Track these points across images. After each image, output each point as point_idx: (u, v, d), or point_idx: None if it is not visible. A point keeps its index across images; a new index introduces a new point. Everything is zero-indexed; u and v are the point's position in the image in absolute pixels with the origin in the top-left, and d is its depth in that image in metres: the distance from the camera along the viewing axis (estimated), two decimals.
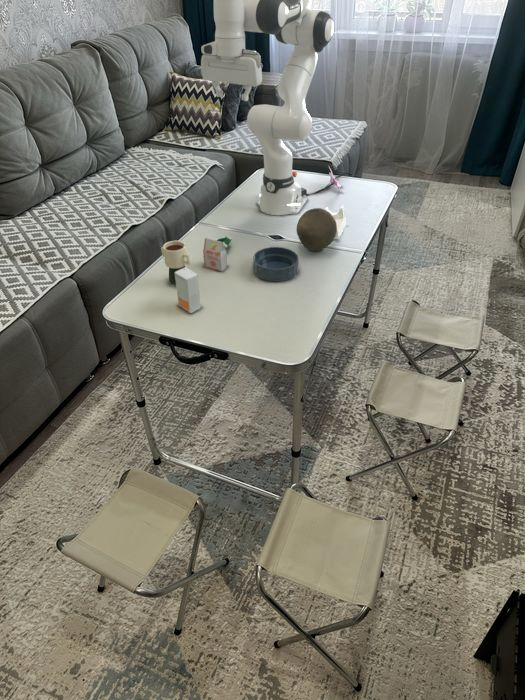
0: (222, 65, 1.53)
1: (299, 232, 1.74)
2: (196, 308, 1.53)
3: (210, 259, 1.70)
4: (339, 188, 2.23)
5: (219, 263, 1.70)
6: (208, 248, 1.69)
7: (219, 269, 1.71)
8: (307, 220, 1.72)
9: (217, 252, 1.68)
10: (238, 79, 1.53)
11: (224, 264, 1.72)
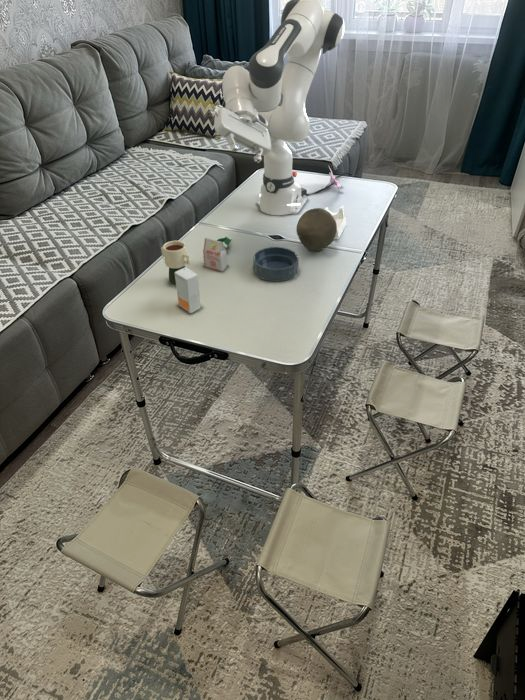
0: None
1: (299, 232, 1.74)
2: (196, 308, 1.53)
3: (210, 259, 1.70)
4: (339, 188, 2.23)
5: (219, 263, 1.70)
6: (208, 248, 1.69)
7: (219, 269, 1.71)
8: (307, 220, 1.72)
9: (217, 252, 1.68)
10: None
11: (224, 264, 1.72)
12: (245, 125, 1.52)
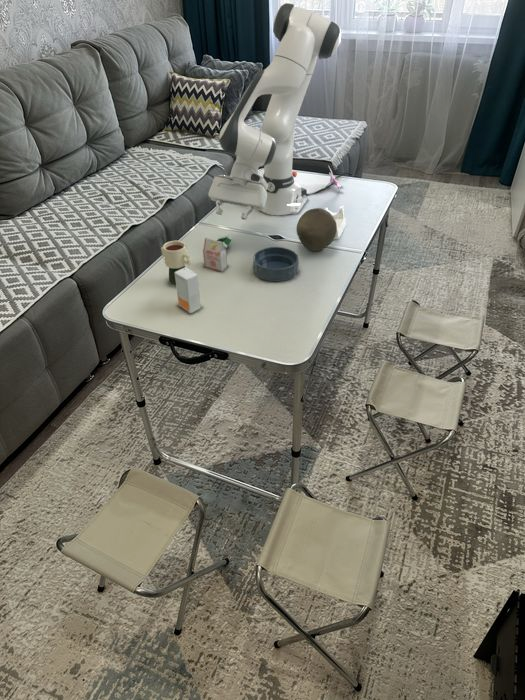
0: None
1: (299, 232, 1.74)
2: (196, 308, 1.53)
3: (210, 259, 1.70)
4: (339, 188, 2.23)
5: (219, 263, 1.70)
6: (208, 248, 1.69)
7: (219, 269, 1.71)
8: (307, 220, 1.72)
9: (217, 252, 1.68)
10: None
11: (224, 264, 1.72)
12: (237, 188, 1.71)
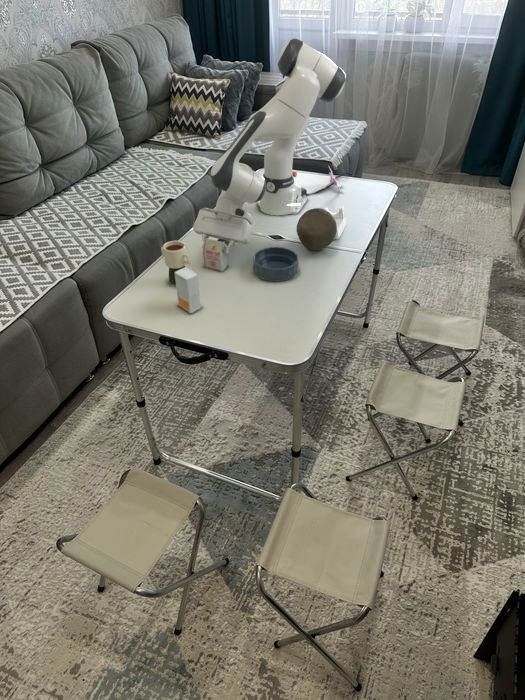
0: None
1: (299, 232, 1.74)
2: (196, 308, 1.53)
3: (210, 259, 1.70)
4: (339, 188, 2.23)
5: (219, 263, 1.70)
6: (208, 248, 1.69)
7: (219, 269, 1.71)
8: (307, 220, 1.72)
9: (217, 252, 1.68)
10: None
11: (224, 264, 1.72)
12: (221, 222, 1.69)
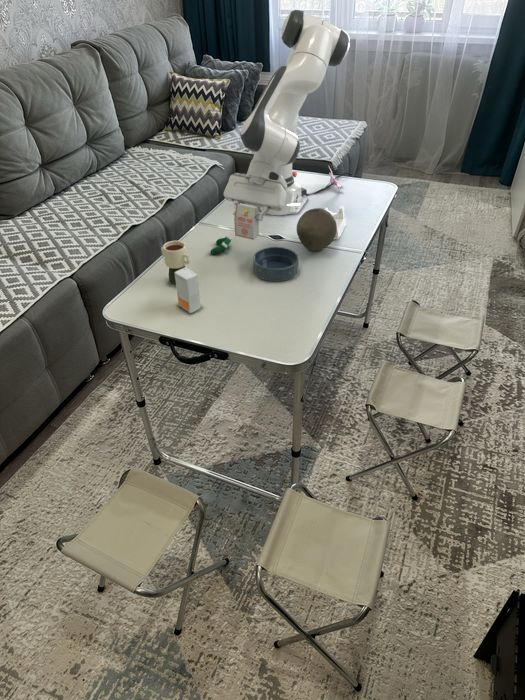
0: None
1: (299, 232, 1.74)
2: (196, 308, 1.53)
3: (241, 226, 1.61)
4: (339, 188, 2.23)
5: (251, 231, 1.61)
6: (240, 215, 1.60)
7: (251, 237, 1.62)
8: (307, 220, 1.72)
9: (249, 218, 1.59)
10: None
11: (256, 232, 1.63)
12: (254, 187, 1.60)
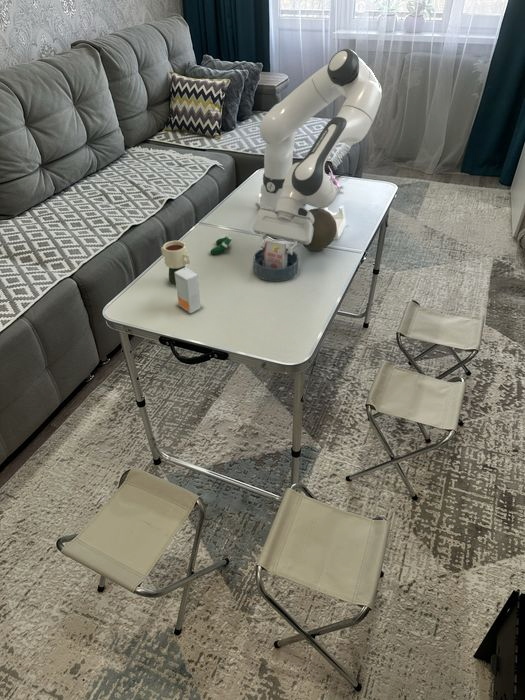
0: None
1: None
2: (196, 308, 1.53)
3: (271, 261, 1.68)
4: (339, 188, 2.23)
5: (281, 266, 1.67)
6: (270, 251, 1.66)
7: None
8: None
9: (279, 254, 1.65)
10: None
11: (285, 266, 1.69)
12: (283, 222, 1.66)
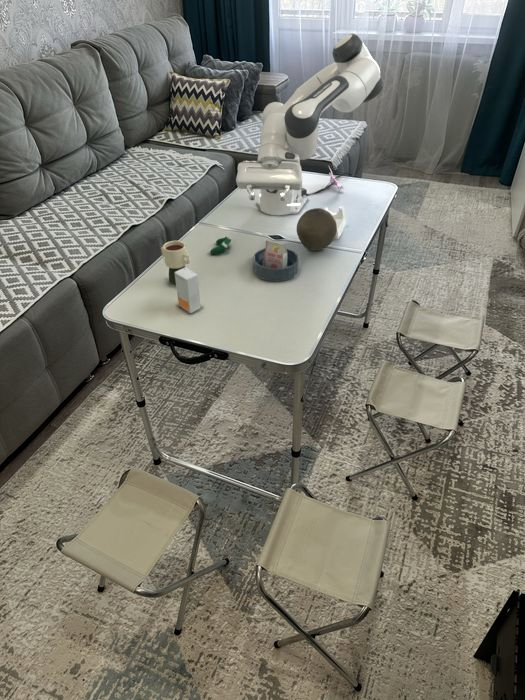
0: None
1: (299, 232, 1.74)
2: (196, 308, 1.53)
3: (271, 261, 1.68)
4: (339, 188, 2.23)
5: (281, 266, 1.67)
6: (270, 251, 1.66)
7: None
8: (307, 220, 1.72)
9: (279, 254, 1.65)
10: None
11: (285, 266, 1.69)
12: (269, 169, 1.54)
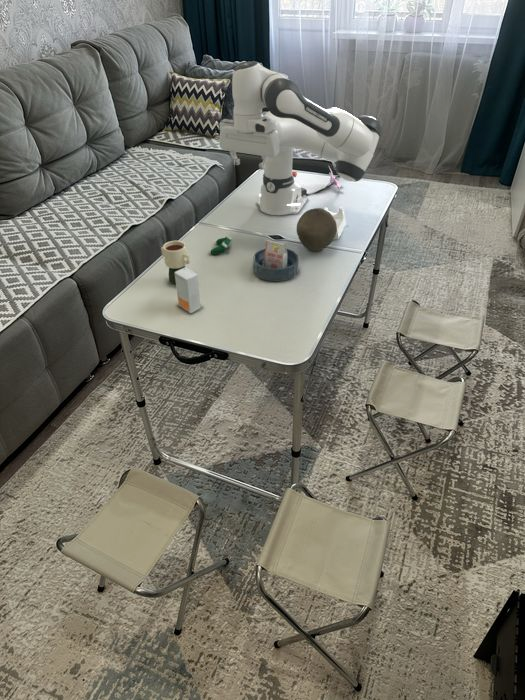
0: None
1: (299, 232, 1.74)
2: (196, 308, 1.53)
3: (271, 261, 1.68)
4: (339, 188, 2.23)
5: (281, 266, 1.67)
6: (270, 251, 1.66)
7: None
8: (307, 220, 1.72)
9: (279, 254, 1.65)
10: None
11: (285, 266, 1.69)
12: (245, 137, 1.59)
